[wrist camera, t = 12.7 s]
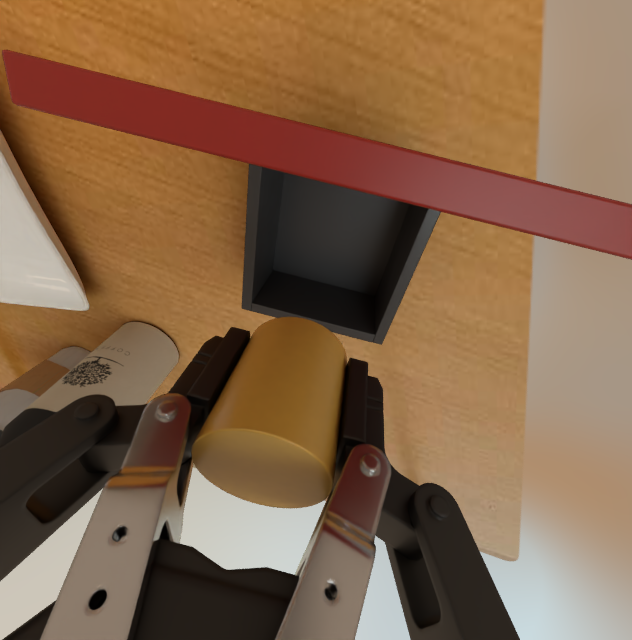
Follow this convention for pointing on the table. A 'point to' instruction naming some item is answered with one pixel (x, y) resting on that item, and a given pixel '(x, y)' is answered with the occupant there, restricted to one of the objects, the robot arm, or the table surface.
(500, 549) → the table surface
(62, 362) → the coffee cup
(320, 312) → the open box
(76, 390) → the travel mug
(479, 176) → the box lid
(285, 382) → the mustard yellow cylinder
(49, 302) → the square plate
